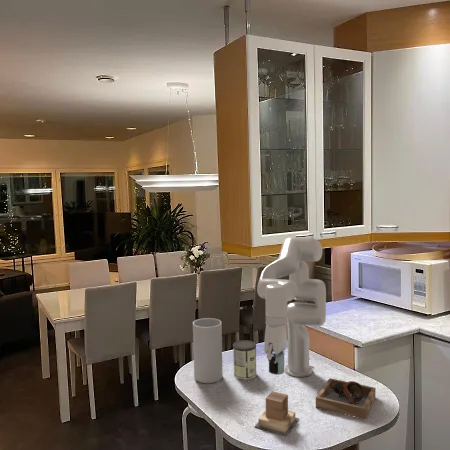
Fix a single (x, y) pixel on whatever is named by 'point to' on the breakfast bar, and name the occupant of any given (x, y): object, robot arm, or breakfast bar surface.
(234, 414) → the butter knife
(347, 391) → the pottery mug
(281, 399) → the walnut block
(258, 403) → the breakfast bar surface
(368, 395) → the mug tray
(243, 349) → the coffee can
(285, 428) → the plinth
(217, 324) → the cylinder vase
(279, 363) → the teal capsule
